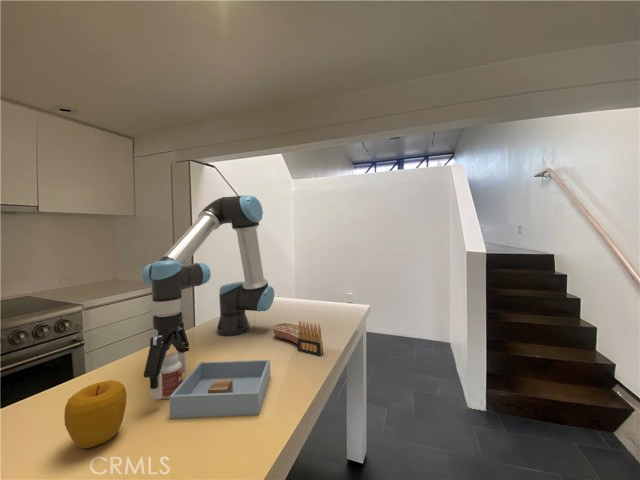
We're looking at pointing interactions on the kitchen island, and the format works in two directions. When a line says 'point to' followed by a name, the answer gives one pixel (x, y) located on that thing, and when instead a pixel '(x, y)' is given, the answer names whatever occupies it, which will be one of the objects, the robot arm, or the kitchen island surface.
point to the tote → (243, 400)
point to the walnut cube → (221, 386)
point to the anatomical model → (287, 331)
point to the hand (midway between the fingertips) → (170, 384)
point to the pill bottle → (170, 374)
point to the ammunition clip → (310, 339)
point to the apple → (95, 413)
